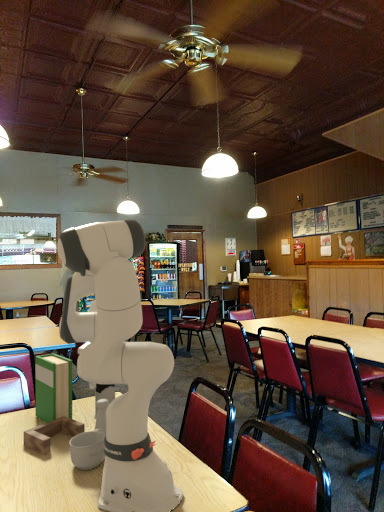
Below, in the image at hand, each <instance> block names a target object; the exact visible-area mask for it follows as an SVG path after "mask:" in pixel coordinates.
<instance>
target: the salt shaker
mask: <svg viewBox="0 0 384 512" xmlns="http://www.w3.org/2000/svg"><path fill="white" fill-rule="evenodd" d="M108 405H109V401H108V400H107V399H100V400H98V401H97V403H96V406H97V408H98V412H97V418H96V419H95V423H94V424H95V425H94V430H95V429H100V430H101V432H104V433H105V434H106V409H107V407H108Z"/></svg>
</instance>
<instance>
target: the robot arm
mask: <svg viewBox="0 0 384 512" xmlns="http://www.w3.org/2000/svg"><path fill="white" fill-rule="evenodd" d="M57 238H58V240H57V244H56V246H57V247H56V250H57V254H58V255H57V256H58V258H59V260H60V261H61V262H62V263H63V265H64V266H65V268H67V269H68V270H70V271H71V272H74V273H73V274H71V275H69V276H68V278H67V280H66V282H65V288H64V293H63V294H64V295H63V303H62V310H61V311H62V312H61V318H60V321H59V325H58V333H59V337H60V339H61V340H62V341H63V342H65V343H67V344H68V345H71V344H77V343H84V344H82V345H80V346H79V347H78V348H77V354H78V357H77V363H76V373H77V376H78V378H80V379H82V380H83V381H84V382H88V384H89V385H88V386H89V389H90V390H93V389H94V388H95V389H96V383H97V384H115V385H126V386H127V391H126V392H125V393H123V394H121V395H119V396H118V397H117V396H116V397H115V399H114V400H113V401H111V402H110V404H109V405H108V407H107V409H106V436H105V438H104V453H105V455H106V456H105V458H104V464H103V469H102V479H101V487H100V490H99V499H98V502H97V503H98V504H97V507H98V509H101V510H104V511H107V512H169V511H170V510H172V509H173V508H175V507H176V506H177V505H178V504H179V505H180V504H181V502H182V501H181V500H183V497H184V491H183V490H182V489H181V488H179V487H178V486H176V485H175V483H174V477H173V474H172V471H171V469H169V467H168V465H167V463H166V462H165V461H163V460H162V459H161V457H159V455H158V454H157V453H156V452H155V450H154V446H156V445H157V444H156V440H153V441H152V439H151V436H150V434H149V432H148V431H149V429H148V424H149V408H150V404H151V400H152V397H153V396H154V394H155V393H156V391H157V390H158V389H159V387H160V386H161V385H162V384H164V383H165V382H166V381H167V380H168V379H169V378H170V377H171V376H172V373H173V370H174V367H175V359H174V358H175V357H174V355H173V352H172V350H171V349H170V347H169V346H168V345H167V344H163V343H159V342H153V341H127V340H129V339H131V338H132V337H134V336H135V335H136V334H137V333H138V332H139V331H140V330H141V328H142V325H143V320H144V319H143V317H144V316H143V307H142V298H141V296H142V295H141V291H140V290H141V289H140V284H139V280H138V276H137V273H136V270H135V266H134V264H133V263H132V261H130V260H133V259H135V258H138V257H139V256H141V255H143V253H144V251H145V249H146V245H147V243H146V236H145V232H144V229H143V227H142V225H141V223H139V222H138V221H137V220H135V219H129V218H123V219H121V220H112V221H111V220H110V221H108V220H107V221H102V222H99V221H96V222H93V223H87V224H84V225H80V226H77V227H70V228H67V229H65V230H63V231H61V232H60V233H59V235H58V237H57ZM91 295H94V297H95V299H94V300H92V301H90V302H89V310H88V312H87V311H86V312H85V311H81V312H79V311H76V309H77V302H78V301H79V300H81V299H83V298H85V297H88V296H89V297H90V296H91ZM180 501H181V502H180ZM179 505H178V506H179ZM178 506H177V507H178ZM177 507H176V508H177ZM176 508H175V509H176Z"/></svg>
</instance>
